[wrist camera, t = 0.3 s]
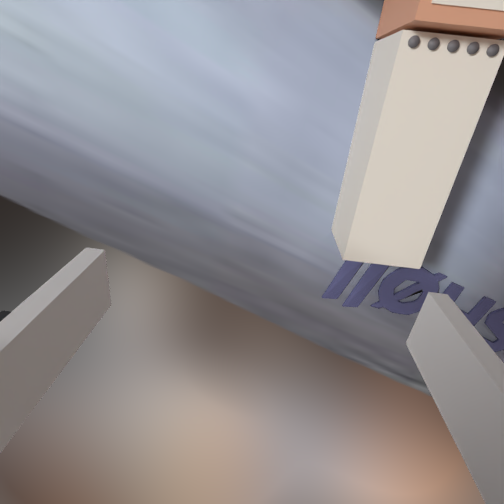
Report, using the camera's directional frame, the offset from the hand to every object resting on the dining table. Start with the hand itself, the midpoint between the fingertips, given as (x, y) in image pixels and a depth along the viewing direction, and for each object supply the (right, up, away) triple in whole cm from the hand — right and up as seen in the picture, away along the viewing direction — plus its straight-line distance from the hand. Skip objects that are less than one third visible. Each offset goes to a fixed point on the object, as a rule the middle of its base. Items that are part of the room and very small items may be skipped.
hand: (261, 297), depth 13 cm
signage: (+24, -6, +32) cm, 41 cm away
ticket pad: (+15, +13, +23) cm, 30 cm away
